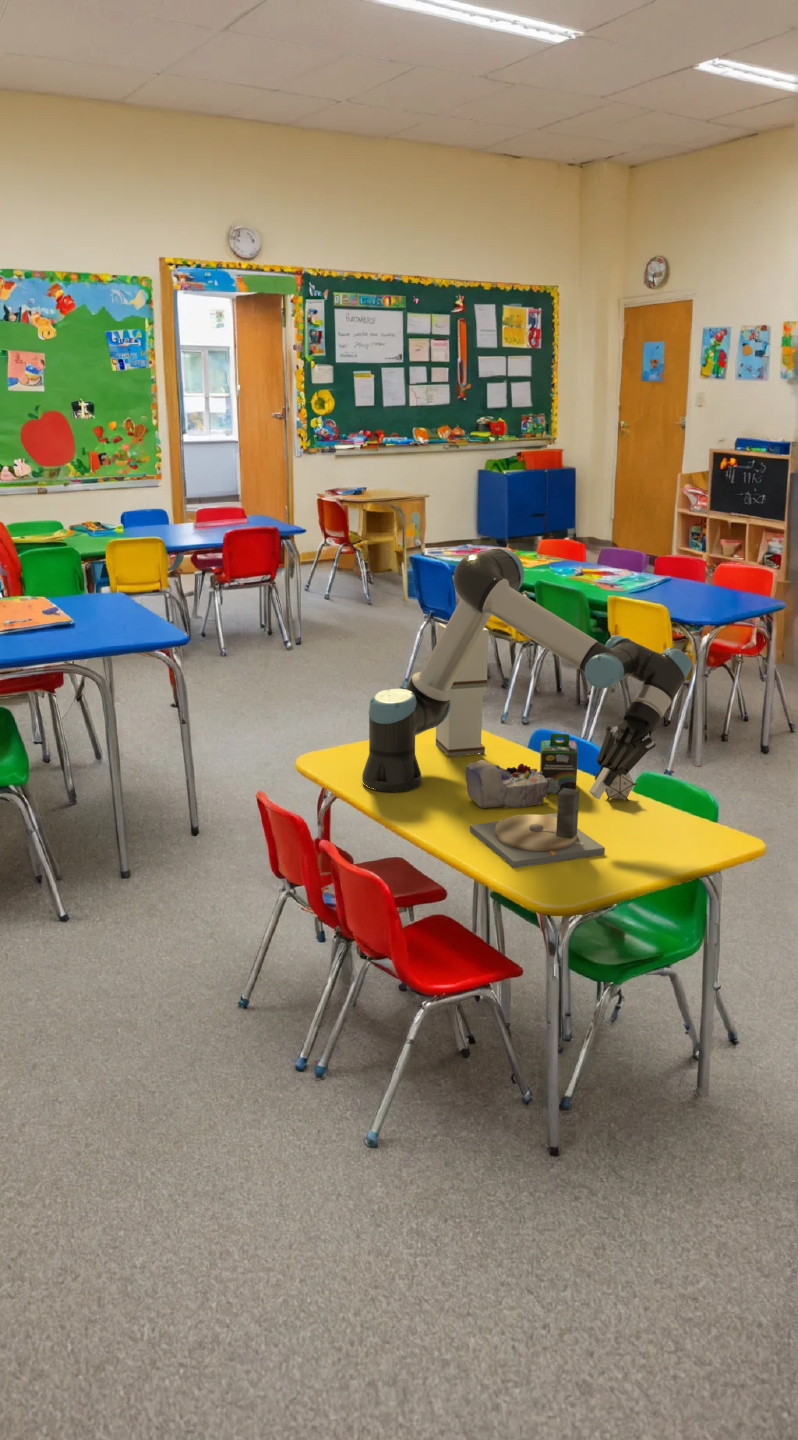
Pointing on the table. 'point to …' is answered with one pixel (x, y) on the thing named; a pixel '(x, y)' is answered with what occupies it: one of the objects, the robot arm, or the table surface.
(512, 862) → the dial base plate
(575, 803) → the dial
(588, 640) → the robot arm
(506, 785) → the cell model
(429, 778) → the table surface
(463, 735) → the tall cream pedestal vase
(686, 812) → the table surface
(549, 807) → the table surface
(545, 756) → the chalk box
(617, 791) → the game die
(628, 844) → the table surface
